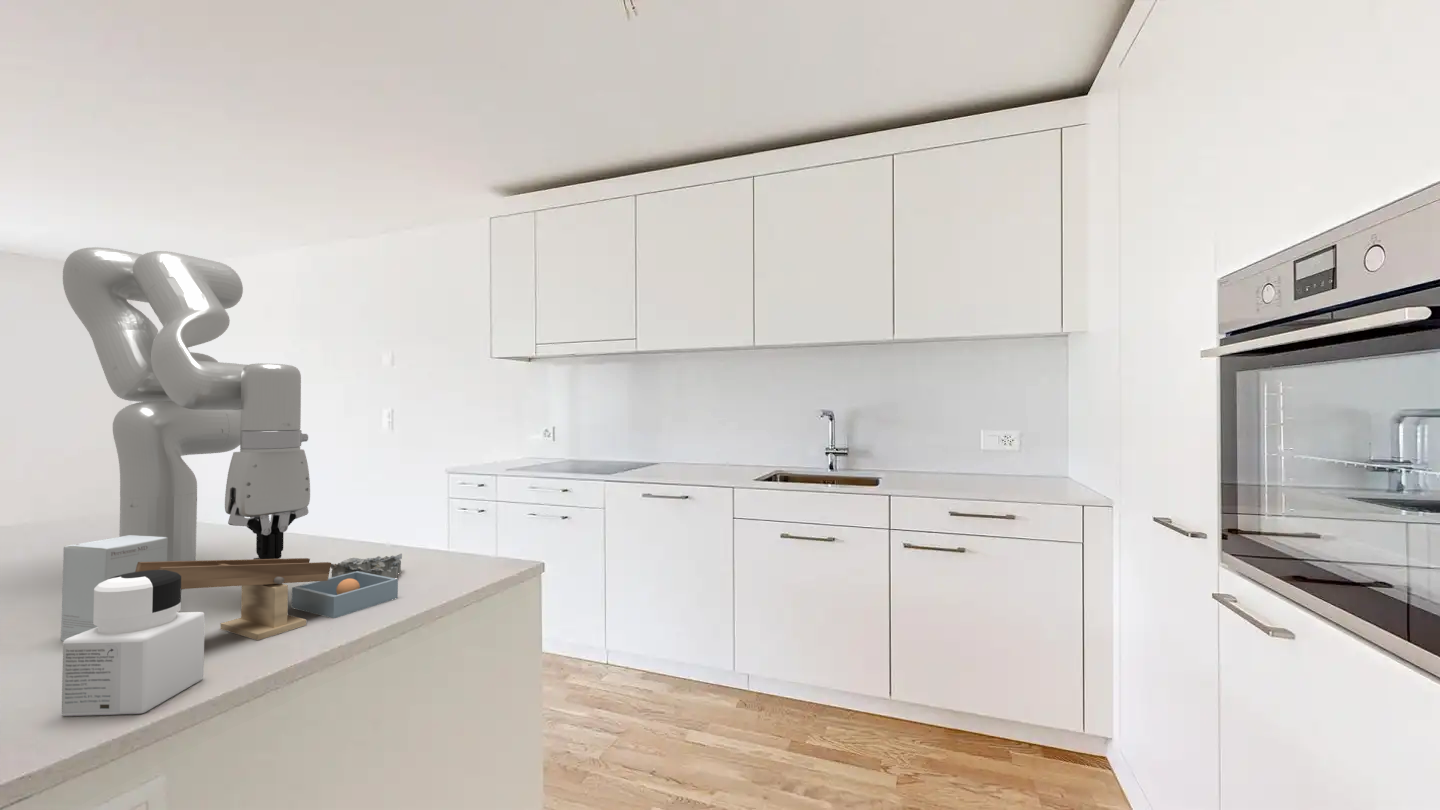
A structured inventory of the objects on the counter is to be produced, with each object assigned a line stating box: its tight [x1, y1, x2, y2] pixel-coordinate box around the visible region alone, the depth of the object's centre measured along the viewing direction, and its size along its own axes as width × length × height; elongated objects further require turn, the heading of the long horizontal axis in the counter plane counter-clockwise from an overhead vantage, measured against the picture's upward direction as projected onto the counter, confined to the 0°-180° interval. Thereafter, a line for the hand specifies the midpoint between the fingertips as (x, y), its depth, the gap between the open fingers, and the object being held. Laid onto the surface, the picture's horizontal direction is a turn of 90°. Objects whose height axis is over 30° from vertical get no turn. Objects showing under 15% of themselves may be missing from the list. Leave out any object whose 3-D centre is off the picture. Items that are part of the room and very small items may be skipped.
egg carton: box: [330, 553, 403, 579], centre depth 104 cm, size 11×8×4 cm
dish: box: [291, 571, 399, 619], centre depth 91 cm, size 10×10×4 cm
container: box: [61, 570, 205, 717], centre depth 61 cm, size 8×8×13 cm
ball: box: [336, 579, 360, 595], centre depth 93 cm, size 3×3×3 cm
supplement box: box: [60, 535, 168, 642], centre depth 78 cm, size 7×7×13 cm
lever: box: [135, 557, 332, 590], centre depth 81 cm, size 17×21×3 cm
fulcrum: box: [219, 583, 307, 641], centre depth 81 cm, size 9×6×6 cm, turn 66°
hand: (269, 557), depth 91 cm, fingers closed
